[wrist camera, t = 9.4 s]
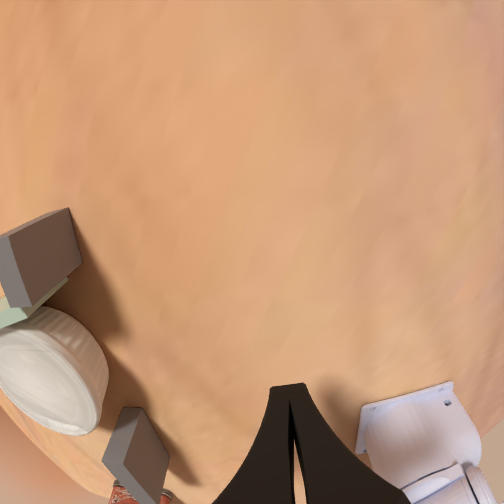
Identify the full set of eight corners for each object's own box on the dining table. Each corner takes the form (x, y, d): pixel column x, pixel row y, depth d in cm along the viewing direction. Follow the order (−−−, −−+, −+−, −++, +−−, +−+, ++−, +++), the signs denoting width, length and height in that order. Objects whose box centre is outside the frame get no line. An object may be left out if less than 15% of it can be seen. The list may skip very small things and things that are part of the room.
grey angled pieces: (68, 207, 19) (8, 236, 13) (169, 456, 27) (158, 506, 21) (47, 213, 19) (-13, 242, 13) (152, 455, 27) (139, 503, 21)
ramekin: (44, 391, 25) (21, 424, 20) (0, 294, 21) (-36, 323, 16) (136, 402, 25) (120, 446, 20) (95, 291, 21) (61, 329, 16)
